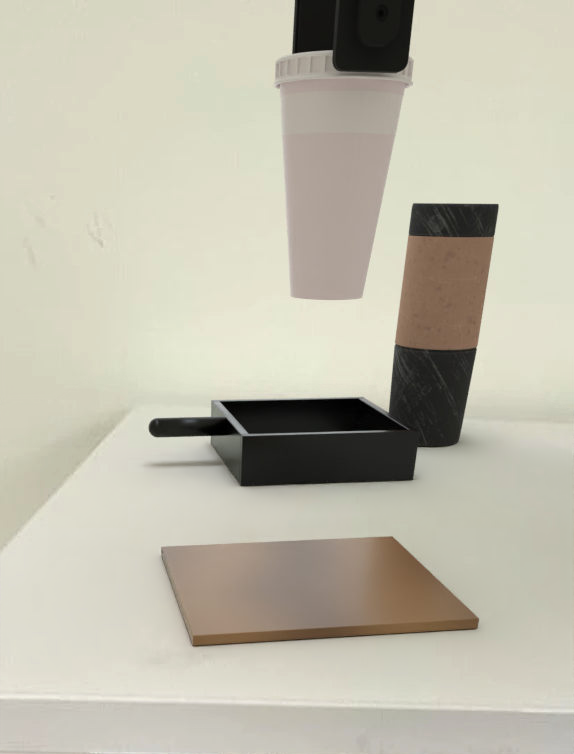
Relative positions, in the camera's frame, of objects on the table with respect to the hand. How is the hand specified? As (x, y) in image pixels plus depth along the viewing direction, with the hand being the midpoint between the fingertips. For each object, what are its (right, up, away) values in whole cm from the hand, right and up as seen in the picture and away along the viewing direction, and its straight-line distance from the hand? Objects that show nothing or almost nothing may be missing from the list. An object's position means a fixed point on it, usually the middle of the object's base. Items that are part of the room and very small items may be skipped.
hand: (344, 76), depth 40 cm
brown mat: (0, -21, +13) cm, 25 cm away
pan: (0, -5, +39) cm, 39 cm away
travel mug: (+16, 0, +47) cm, 49 cm away
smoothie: (0, -8, +5) cm, 9 cm away
